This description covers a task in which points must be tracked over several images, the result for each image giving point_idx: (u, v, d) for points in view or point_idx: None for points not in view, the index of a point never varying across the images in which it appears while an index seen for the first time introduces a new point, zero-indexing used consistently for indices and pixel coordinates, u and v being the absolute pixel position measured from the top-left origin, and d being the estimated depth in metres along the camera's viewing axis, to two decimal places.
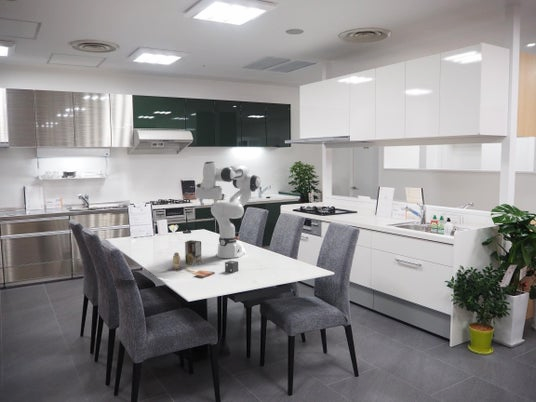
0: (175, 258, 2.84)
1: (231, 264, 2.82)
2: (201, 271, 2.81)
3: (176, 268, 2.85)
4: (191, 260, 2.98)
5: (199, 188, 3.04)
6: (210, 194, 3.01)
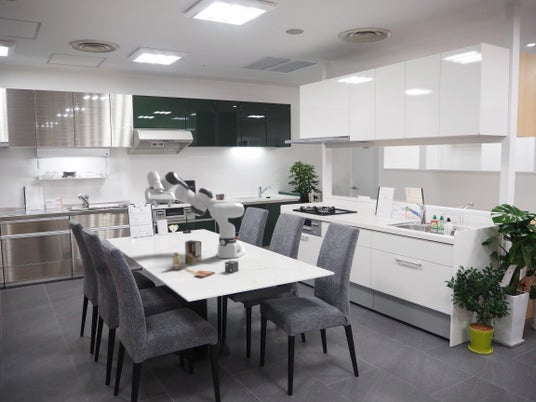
0: (175, 258, 2.84)
1: (231, 264, 2.82)
2: (201, 271, 2.81)
3: (176, 268, 2.85)
4: (191, 260, 2.98)
5: (152, 190, 3.01)
6: (165, 195, 3.05)
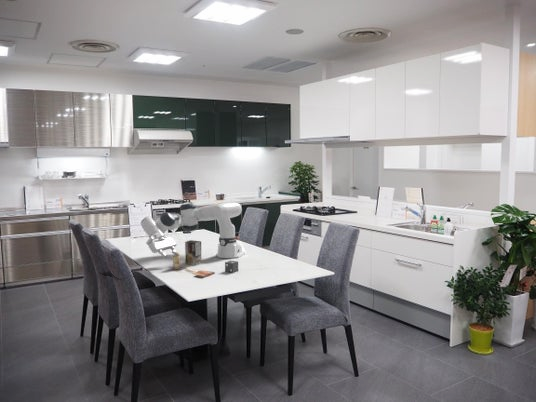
0: (175, 258, 2.84)
1: (231, 264, 2.82)
2: (201, 271, 2.81)
3: (176, 268, 2.85)
4: (191, 260, 2.98)
5: (156, 239, 2.85)
6: (167, 242, 2.92)
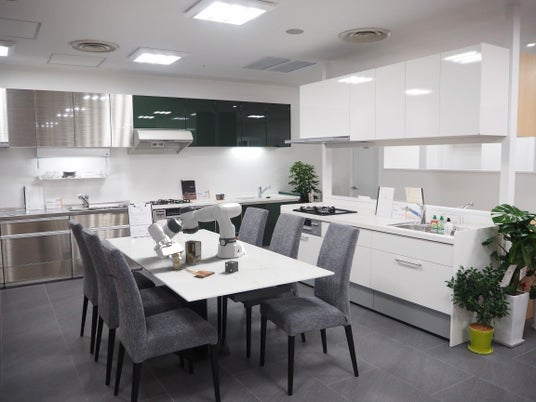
0: (175, 258, 2.84)
1: (231, 264, 2.82)
2: (201, 271, 2.81)
3: (176, 268, 2.85)
4: (191, 260, 2.98)
5: (163, 245, 2.83)
6: (175, 248, 2.90)
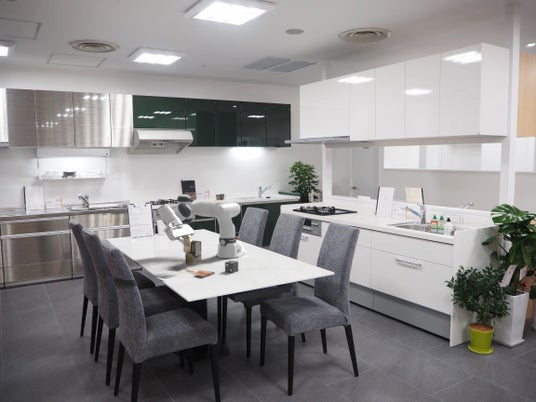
0: (185, 240, 2.77)
1: (231, 264, 2.82)
2: (201, 271, 2.81)
3: (186, 250, 2.78)
4: (191, 260, 2.98)
5: (174, 227, 2.76)
6: (185, 230, 2.83)
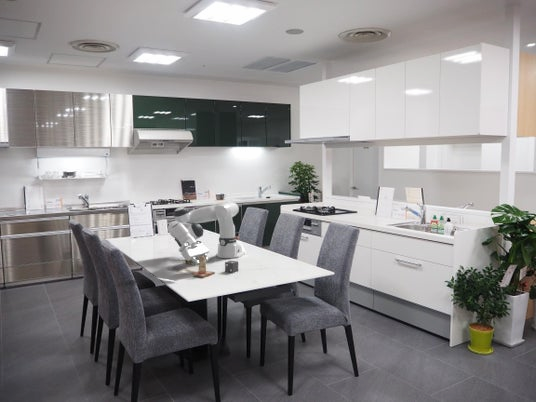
0: (201, 262, 2.74)
1: (231, 264, 2.82)
2: None
3: (202, 272, 2.75)
4: (191, 260, 2.98)
5: (189, 246, 2.73)
6: (200, 249, 2.80)
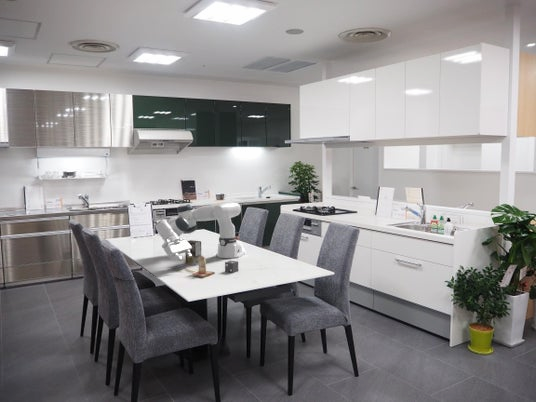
0: (201, 262, 2.75)
1: (231, 264, 2.82)
2: None
3: (202, 272, 2.75)
4: (191, 260, 2.98)
5: (171, 242, 2.79)
6: (183, 245, 2.86)
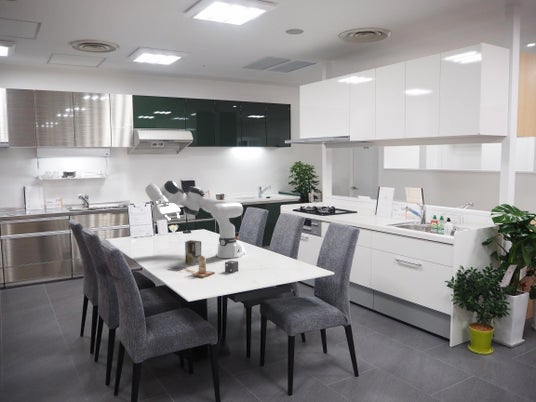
0: (201, 261, 2.75)
1: (231, 264, 2.82)
2: None
3: (201, 272, 2.75)
4: (191, 260, 2.98)
5: (160, 204, 2.89)
6: (172, 208, 2.96)
